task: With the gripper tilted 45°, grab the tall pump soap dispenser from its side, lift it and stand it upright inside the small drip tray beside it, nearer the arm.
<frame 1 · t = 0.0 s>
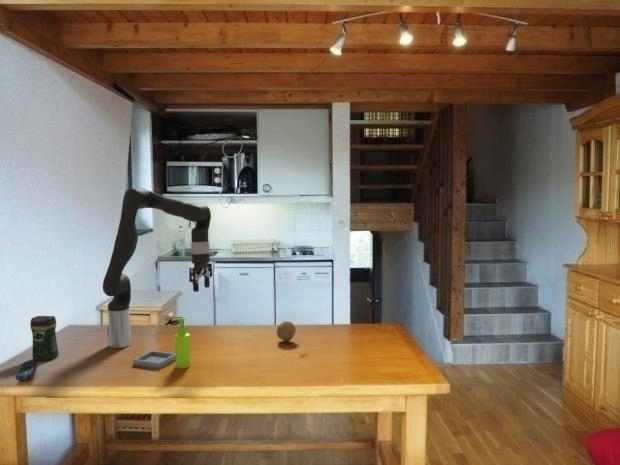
hand: (201, 289, 206), 29 cm above the table, tool pointing down, fingers open, 8 cm apart
drip tray: (155, 362, 202), on the table
soap dispenser: (182, 366, 198), on the table
natural sponge: (286, 342, 226), on the table
coffee jar: (45, 358, 209), on the table
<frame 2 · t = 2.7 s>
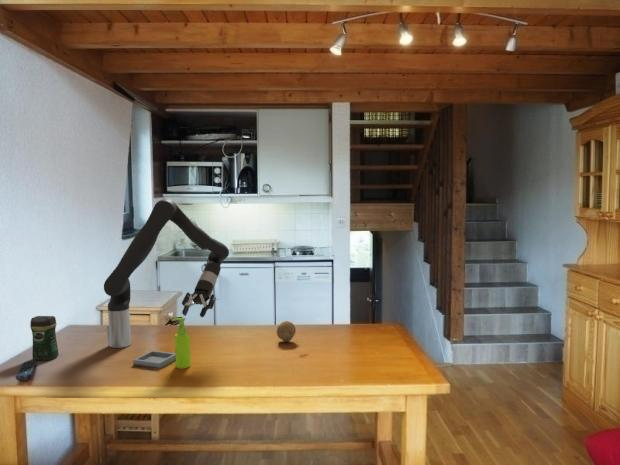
hand: (192, 315, 204), 19 cm above the table, tool tilted 45°, fingers open, 8 cm apart
nothing on the table moved.
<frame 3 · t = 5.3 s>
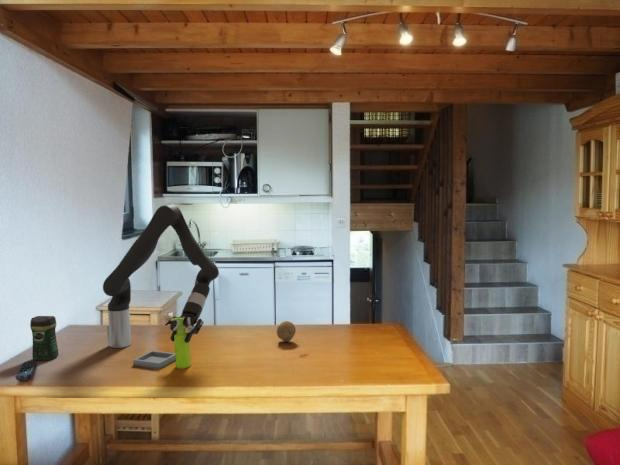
hand: (179, 341, 195), 11 cm above the table, tool tilted 45°, fingers closed on soap dispenser, 6 cm apart
soap dispenser: (182, 366, 198), on the table, touching gripper
everything else where it was.
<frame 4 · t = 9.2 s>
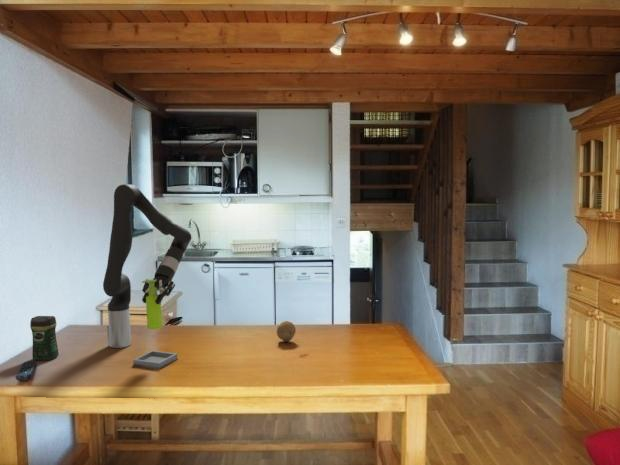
hand: (150, 302, 198), 26 cm above the table, tool tilted 45°, fingers closed on soap dispenser, 6 cm apart
soap dispenser: (153, 327, 201), point 15 cm above the table, touching gripper
everything else where it was.
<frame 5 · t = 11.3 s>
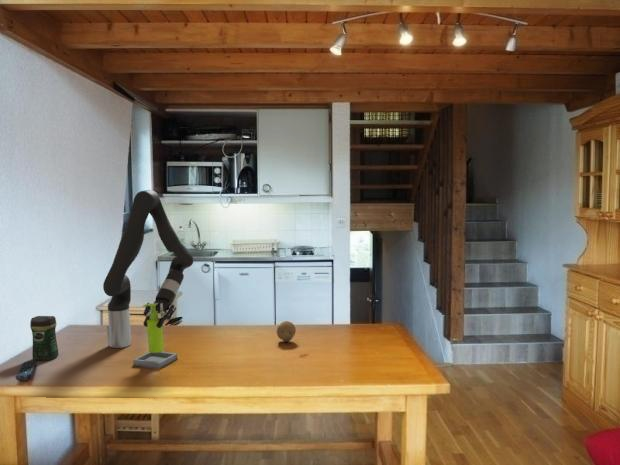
hand: (151, 326, 199), 16 cm above the table, tool tilted 45°, fingers closed on soap dispenser, 6 cm apart
soap dispenser: (155, 351, 202), point 5 cm above the table, touching gripper
everything else where it was.
when the fingers open (13 cm above the table, at t = 13.1 s): soap dispenser stays where it is, resting on drip tray.
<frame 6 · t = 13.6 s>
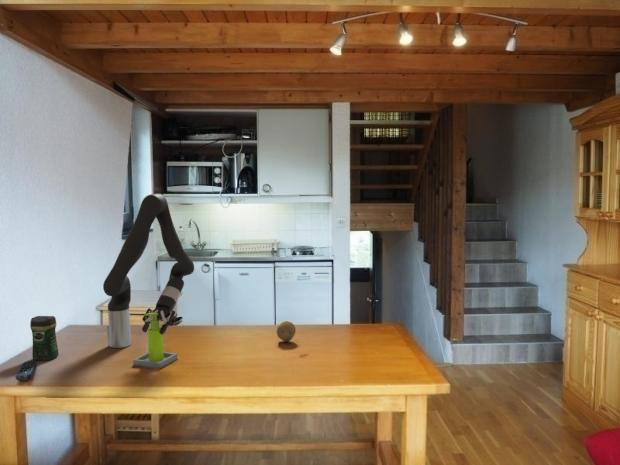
hand: (152, 332, 199), 13 cm above the table, tool tilted 45°, fingers open, 8 cm apart
soap dispenser: (155, 360, 202), point 1 cm above the table, touching drip tray
everything else where it was.
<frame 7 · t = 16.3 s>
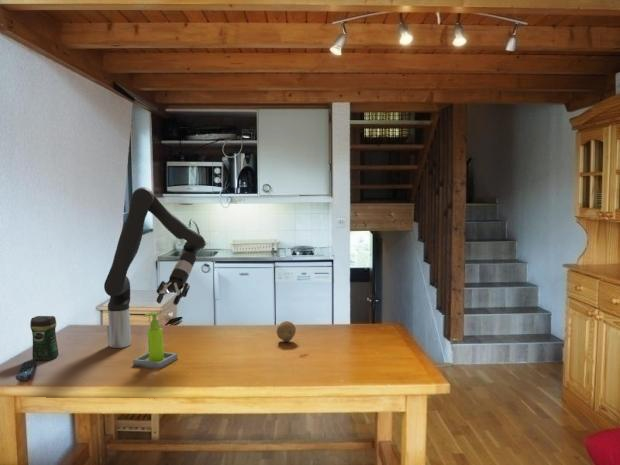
hand: (166, 303, 208), 23 cm above the table, tool tilted 45°, fingers open, 8 cm apart
nothing on the table moved.
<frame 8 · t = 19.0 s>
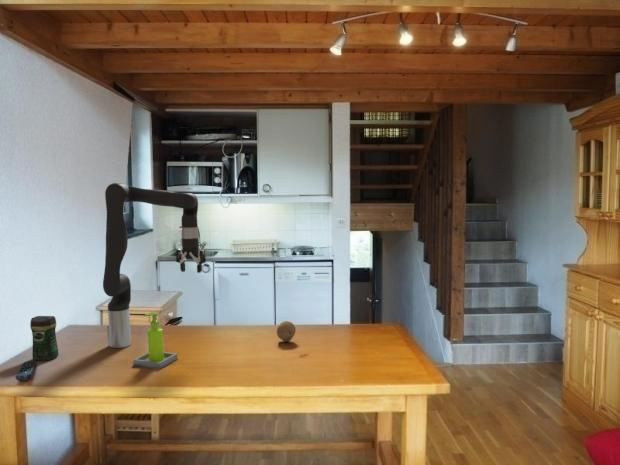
hand: (191, 272, 221), 34 cm above the table, tool pointing down, fingers open, 8 cm apart
nothing on the table moved.
at the end: soap dispenser 0.4 cm off-centre on the drip tray, point 0.6 cm above the drip tray's base; soap dispenser tilted 0°; the gripper is holding nothing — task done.
